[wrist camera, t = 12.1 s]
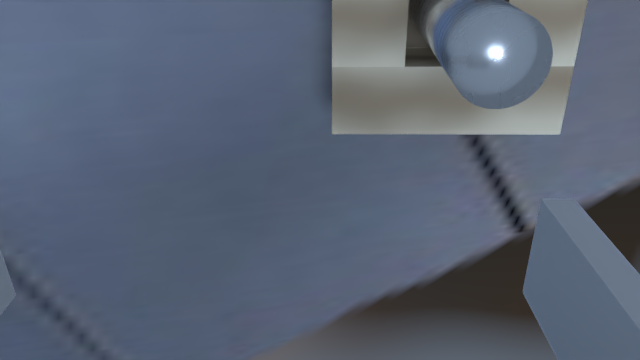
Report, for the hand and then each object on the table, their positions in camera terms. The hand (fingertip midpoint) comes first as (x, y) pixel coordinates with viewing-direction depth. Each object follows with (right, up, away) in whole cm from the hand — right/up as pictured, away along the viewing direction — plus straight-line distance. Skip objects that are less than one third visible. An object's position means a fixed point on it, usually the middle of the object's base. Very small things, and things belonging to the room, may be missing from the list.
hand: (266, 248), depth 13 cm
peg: (+9, +13, +21) cm, 26 cm away
